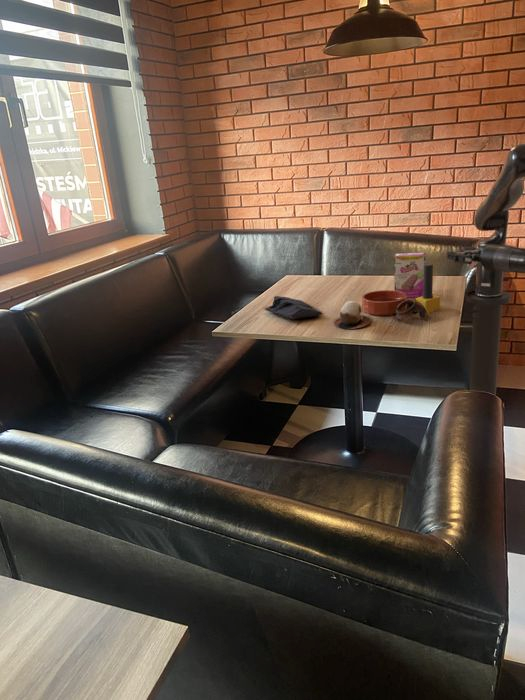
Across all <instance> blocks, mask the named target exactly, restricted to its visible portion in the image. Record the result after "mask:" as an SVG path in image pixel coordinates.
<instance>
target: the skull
mask: <svg viewBox="0 0 525 700" xmlns="http://www.w3.org/2000/svg"><path fill="white" fill-rule="evenodd" d="M362 313H363V310H362V305H361V304H360V303H359V302H357V301H354V300H348V301H346V302H345V303H344V304H343V306H342V307H341V309H340V311H339V318H337V319H336V320H335V321H334V325H335V326H336V327H338V328H340V329H348V330H352V329H359V328H363V327H366V326H368V325H369V324H371V322H372V319H371V318H370V316H367V315H364V314H363V315H362Z"/></svg>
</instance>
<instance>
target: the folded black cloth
mask: <svg viewBox="0 0 525 700" xmlns="http://www.w3.org/2000/svg"><path fill="white" fill-rule="evenodd" d="M265 310H266V311H268V312H270V313H272V314H274V315H277V316H280V317H282V318H286V319H287V320H298V319H304V318H305V319H306V318H312V317H313V318H314V317H318V316H321V315H322V314H323V313H322V312H321V311H319V310H317V309H315V308H314V307H312V306H311V305H310V304H308V303H306V302H305V301H303V300H302V299H295V298H291V297H288V296H287V297H286V296H281V295H275V296H273V301H272V305H269V306H266V307H265Z"/></svg>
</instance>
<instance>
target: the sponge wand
mask: <svg viewBox="0 0 525 700" xmlns="http://www.w3.org/2000/svg"><path fill="white" fill-rule="evenodd" d="M433 279H434V264H433V263H425V264H424V279H423V296H421V297H418V298H414V299H416V300H417V302H420V303H421V304H422V305H423V306H424V308H425V309H426V312H427V314H429V313H432V312H434V311H437V310H440V309H441V296H439V295H435V294H433V281H434V280H433Z"/></svg>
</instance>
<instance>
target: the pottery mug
mask: <svg viewBox="0 0 525 700" xmlns="http://www.w3.org/2000/svg"><path fill="white" fill-rule="evenodd" d="M406 304H407V309H406V310H404V311H402V312H400V309H401V308H402V307H404V306H405V305H406ZM396 313H397V314H396V319H397V321H398V322H399V321H400V320H404V319H405V320H406V319H408V318H412V319H413V318H414V315H417V314H419V317H420V318H425V321H426V322H428V321H429V317H428V313H427V312H426V309H425V308H424V306H423V305H422V304H421V303H420V302H417V300H416V299H415V298H407V300H405V301H403V302H402V303H400V304H399V305H398V306H397V310H396Z"/></svg>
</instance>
